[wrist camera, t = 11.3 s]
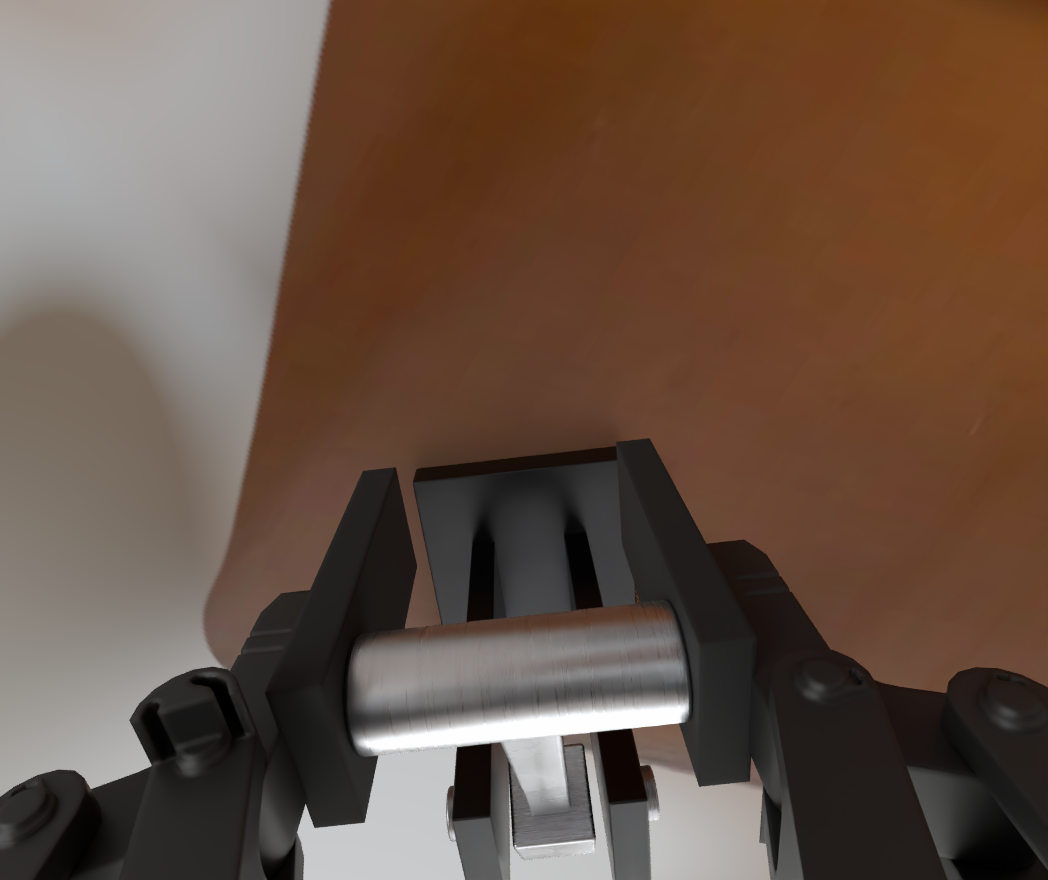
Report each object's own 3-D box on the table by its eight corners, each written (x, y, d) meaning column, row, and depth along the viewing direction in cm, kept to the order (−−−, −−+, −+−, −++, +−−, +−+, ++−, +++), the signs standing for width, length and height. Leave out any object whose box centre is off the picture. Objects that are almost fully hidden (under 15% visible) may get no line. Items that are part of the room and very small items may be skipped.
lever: (351, 598, 10) (333, 764, 8) (666, 562, 10) (707, 724, 8) (472, 776, 20) (475, 865, 19) (627, 759, 20) (642, 848, 19)
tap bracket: (415, 468, 27) (342, 735, 15) (623, 444, 27) (731, 693, 14) (455, 663, 32) (424, 996, 19) (633, 643, 32) (722, 965, 19)
